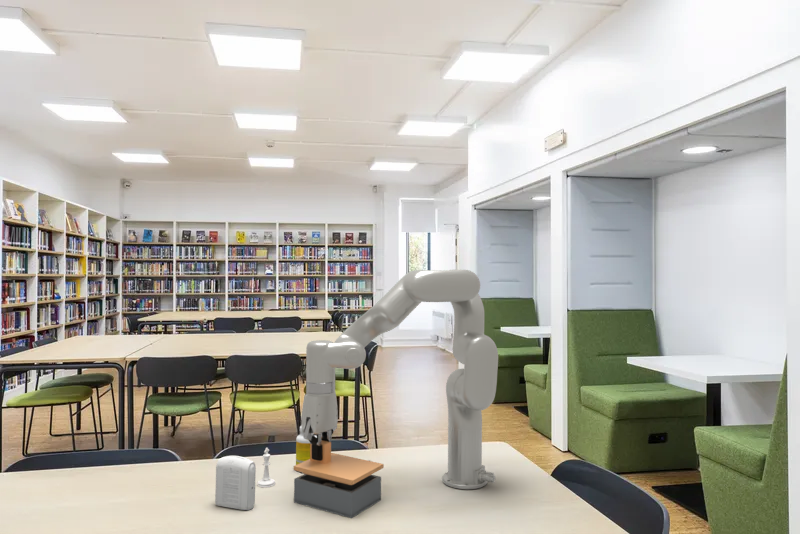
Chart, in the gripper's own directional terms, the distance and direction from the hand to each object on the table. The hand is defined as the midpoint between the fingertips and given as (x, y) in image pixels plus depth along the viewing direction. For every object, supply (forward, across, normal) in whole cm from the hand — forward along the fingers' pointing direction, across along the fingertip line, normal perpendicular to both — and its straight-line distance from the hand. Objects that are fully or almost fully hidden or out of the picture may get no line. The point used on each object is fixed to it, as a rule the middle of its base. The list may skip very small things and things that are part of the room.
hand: (320, 457), depth 149 cm
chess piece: (+10, +1, -18) cm, 21 cm away
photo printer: (+10, +16, -14) cm, 24 cm away
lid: (+2, 0, +6) cm, 6 cm away
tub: (+10, 0, +6) cm, 12 cm away
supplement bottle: (+10, -14, -16) cm, 24 cm away
